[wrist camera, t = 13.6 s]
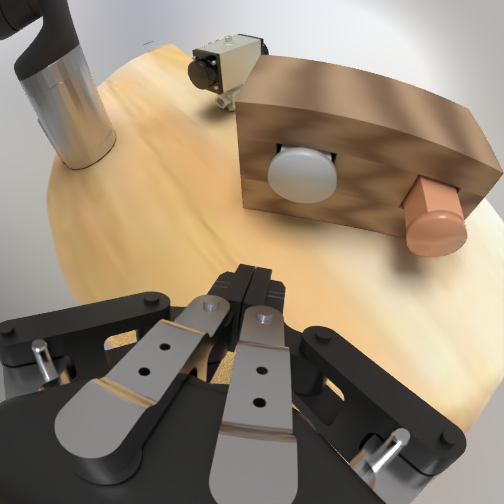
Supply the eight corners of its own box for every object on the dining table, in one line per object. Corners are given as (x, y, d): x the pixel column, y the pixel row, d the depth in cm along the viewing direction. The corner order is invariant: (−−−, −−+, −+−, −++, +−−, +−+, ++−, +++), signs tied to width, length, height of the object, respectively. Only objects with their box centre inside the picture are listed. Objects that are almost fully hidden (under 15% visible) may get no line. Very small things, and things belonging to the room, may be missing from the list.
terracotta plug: (396, 250, 22) (425, 214, 17) (386, 163, 27) (403, 124, 22) (445, 261, 21) (478, 230, 16) (428, 175, 26) (449, 140, 21)
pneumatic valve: (269, 95, 40) (269, 30, 29) (216, 126, 36) (205, 51, 25) (244, 85, 42) (241, 25, 31) (191, 114, 38) (178, 46, 27)
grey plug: (267, 197, 24) (268, 150, 19) (283, 125, 29) (286, 85, 24) (329, 208, 24) (343, 163, 19) (331, 133, 29) (340, 93, 24)
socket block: (243, 207, 29) (234, 101, 18) (260, 146, 34) (260, 54, 22) (439, 245, 26) (503, 173, 15) (427, 182, 31) (468, 109, 19)
